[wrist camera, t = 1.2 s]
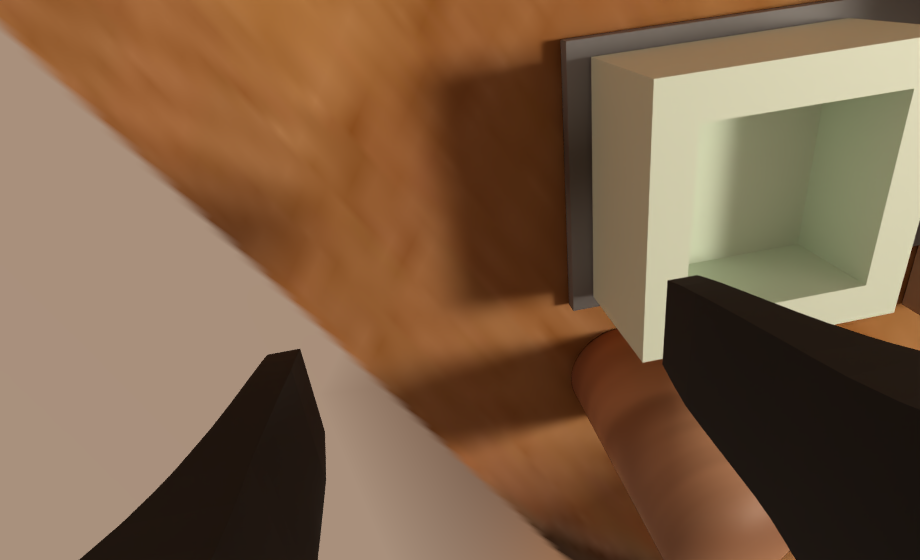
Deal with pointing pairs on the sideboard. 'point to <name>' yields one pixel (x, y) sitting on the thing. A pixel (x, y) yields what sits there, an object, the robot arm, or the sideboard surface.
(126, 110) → the sideboard surface
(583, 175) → the block
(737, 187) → the socket block
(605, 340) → the dowel
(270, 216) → the sideboard surface
